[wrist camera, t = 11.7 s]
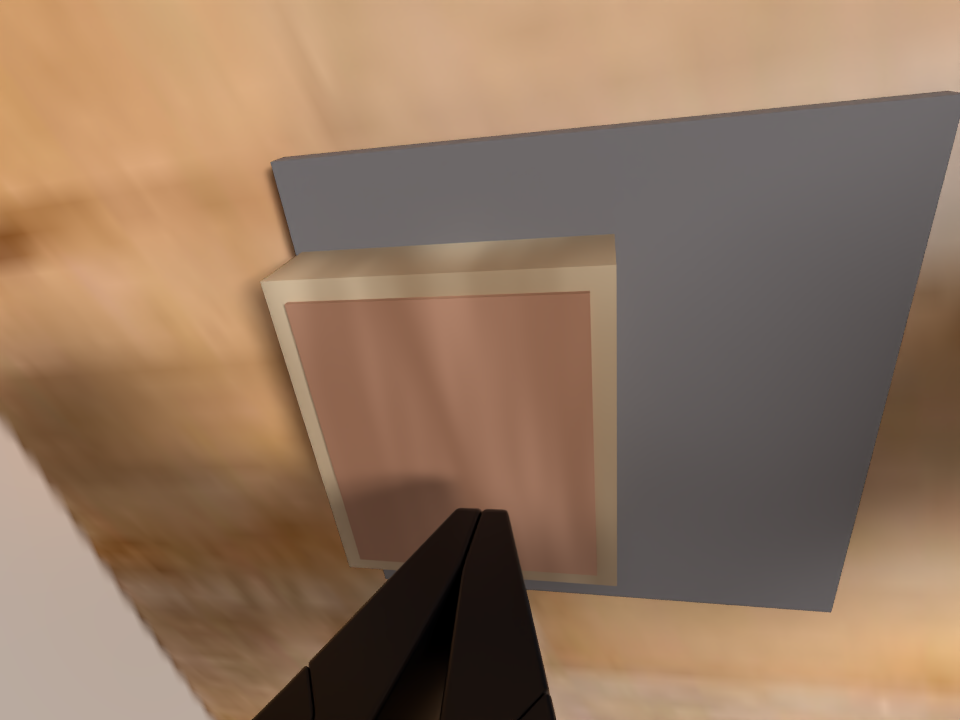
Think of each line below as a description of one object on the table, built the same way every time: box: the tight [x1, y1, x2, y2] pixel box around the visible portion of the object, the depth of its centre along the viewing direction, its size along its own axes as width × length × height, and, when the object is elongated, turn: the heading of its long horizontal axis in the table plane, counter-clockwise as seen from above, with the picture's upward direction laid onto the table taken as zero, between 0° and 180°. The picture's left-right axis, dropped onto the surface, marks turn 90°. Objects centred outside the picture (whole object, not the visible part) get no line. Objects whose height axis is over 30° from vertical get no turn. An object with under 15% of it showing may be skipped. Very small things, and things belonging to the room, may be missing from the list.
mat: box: [271, 91, 960, 612], centre depth 12 cm, size 11×11×1 cm
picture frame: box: [260, 234, 617, 586], centre depth 11 cm, size 2×7×6 cm
